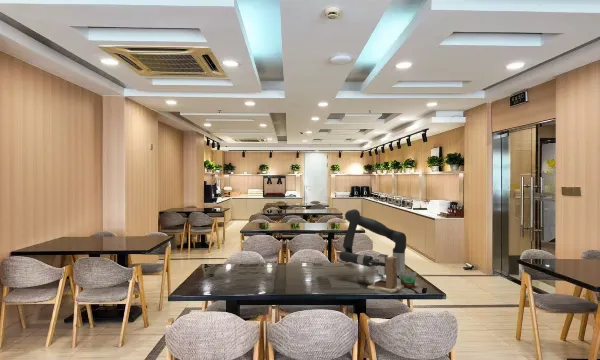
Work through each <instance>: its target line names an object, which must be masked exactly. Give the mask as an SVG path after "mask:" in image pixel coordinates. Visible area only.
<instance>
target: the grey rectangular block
mask: <svg viewBox="0 0 600 360" xmlns="http://www.w3.org/2000/svg"><path fill="white" fill-rule="evenodd" d="M388 257H389V254H384V253H381V254H380V253H379V254H378V259H379V262H381V263H385V266H378V270H377V271H378V275H382V276H386V258H388Z"/></svg>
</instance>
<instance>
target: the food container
mask: <svg viewBox="0 0 600 360" xmlns="http://www.w3.org/2000/svg"><path fill="white" fill-rule="evenodd" d="M399 275H400V276H399V279H400V285H401V286H404V288H408V289H411V288H412V289H413V288H415V286H416V285H415V284H416V276H417V272H416V271H414V272H411V271H410V272H408V271H407V272H406V271H405V273H402V272H400V273H399Z"/></svg>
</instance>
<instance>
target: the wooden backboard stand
mask: <svg viewBox="0 0 600 360" xmlns="http://www.w3.org/2000/svg"><path fill="white" fill-rule="evenodd" d="M366 288H367V289H370V290H376V291H380V292H385V293H388V294H393V293H396V292H398V291H400V290H402V289H404V288H405V287H404V286H401V284H398V276H397V257H393V256H390V257H389V256H388V258H386V275H385V280H384V279H379V280H377V281H374V283H373V284H369V285H368V286H367V287H366Z"/></svg>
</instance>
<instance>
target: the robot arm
mask: <svg viewBox="0 0 600 360" xmlns="http://www.w3.org/2000/svg"><path fill="white" fill-rule="evenodd" d="M344 217H345V220H346V221H347V222H349V223H348V224H349V225H348V227H347V229H346V233H345V235H344V239H343V243H342V248H343V249H344V251H341V252H340V253H339V254H338V257H339V261H342V262H344V263H347V264H348V263H353V264H355V265H359V266H363V267H369V268H370V267H374V266H375V267H379V266H385V263H381V262H379V258H378V259H377V258H374V257H373V256H371V255H367V254H358V253H354V252H353V245H354V239H355V235H356V231H357V227H358V226H360V227H362V228H364V229H366V230H367V231H370V232H371V233H374V234H377V235H378V236H381V237H384V238H386V239H388V240H390V241H391V242H393V243H394V247H393V248H392V257H397V277H400V275H399V273H400V272H402V273H406V271H405V268H406V264H405V263H406V258H405V257H406V249H407V236H406V233H404V232H401V231H397V230H395V229H392V228H389V227H387V226H386V225H385V224H384V223H382V222H380V221H378V220H376V219H373V218H369V217H365V216H362V215H361V213H360V211H359V210H358V209H355V208H354V209H350V210H347V211H346V212H345V214H344Z"/></svg>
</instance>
